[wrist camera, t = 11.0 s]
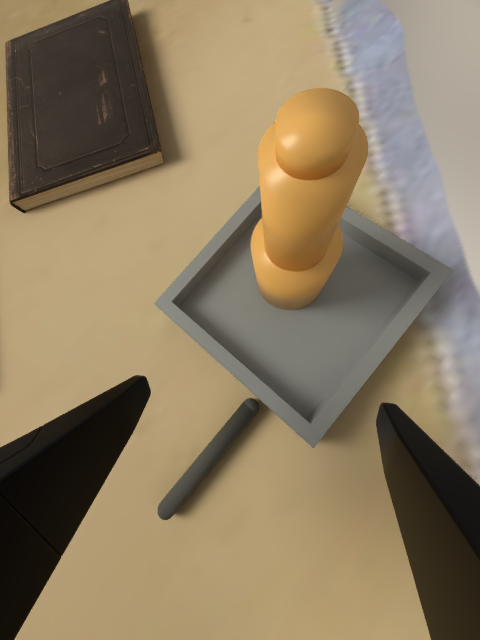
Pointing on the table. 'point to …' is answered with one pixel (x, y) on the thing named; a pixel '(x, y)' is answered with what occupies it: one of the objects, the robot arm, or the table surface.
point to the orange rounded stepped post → (305, 194)
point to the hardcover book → (77, 106)
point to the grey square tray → (303, 317)
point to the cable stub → (207, 459)
